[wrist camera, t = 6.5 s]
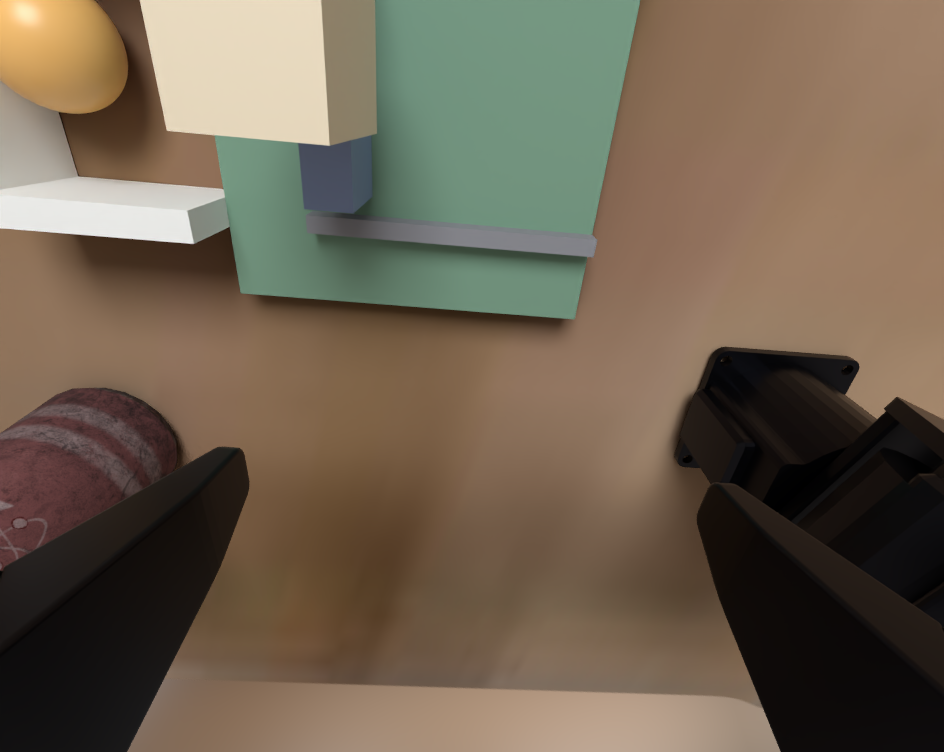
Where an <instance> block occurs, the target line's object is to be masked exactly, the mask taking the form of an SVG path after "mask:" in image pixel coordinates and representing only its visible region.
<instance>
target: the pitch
mask: <svg viewBox="0 0 944 752" xmlns="http://www.w3.org/2000/svg"><path fill="white" fill-rule="evenodd" d="M639 4H640V0H375V30H376V103H377V134H374V135H371V143H372V196H373V197H372V198H370V199H369V200H368V201H367V202H366V203H365V204H364V205H362V206H361V207H360V208H359V209H358V210H357V211H356V212H355V213H342V212H330V211H319V210H307V209H304V204H303V192H302V181H301V169H300V158H299V147H298V143H295V142H284V141H273V140H262V139H251V138H241V137H230V136H219V135H215V140H216V146H217V153H218V159H219V165H220V171H221V177H222V183H223V189H224V195H225V201H226V207H227V213H228V219H229V225H230V231H231V237H232V244H233V250H234V256H235V262H236V268H237V274H238V280H239V286H240V292H241V293H244V294H257V295H270V296H283V297H295V298H308V299H321V300H334V301H347V302H359V303H372V304H385V305H398V306H411V307H423V308H436V309H449V310H462V311H475V312H487V313H500V314H513V315H526V316H539V317H551V318H564V319H575V315H576V310H577V305H578V300H579V295H580V291H581V286H582V281H583V276H584V271H585V266H586V261H587V257H594V253H595V248H596V243H597V239H596V238H595V237H594V236H593V235H592V232H593V227H594V223H595V218H596V213H597V208H598V203H599V198H600V193H601V189H602V184H603V179H604V174H605V169H606V164H607V159H608V155H609V150H610V145H611V140H612V135H613V130H614V125H615V121H616V116H617V111H618V106H619V101H620V96H621V91H622V87H623V82H624V77H625V72H626V67H627V62H628V57H629V53H630V48H631V43H632V38H633V33H634V28H635V23H636V19H637V14H638V9H639Z"/></svg>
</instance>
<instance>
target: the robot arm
mask: <svg viewBox="0 0 944 752" xmlns="http://www.w3.org/2000/svg"><path fill="white" fill-rule="evenodd" d="M725 356H728V358H727V359H726V360H725V361H724V362H721V360H722V358H724V357H725ZM845 366H847V367H846V368H845V369H843V368H844V367H845ZM842 369H843V370H842ZM858 370H859V363H858V362H857V361H855V360H854V359H852V358H851V357H848V356H839V355H826V354H812V353H799V352H786V351H773V350H760V349H747V348H734V347H721V348H719V349H717V350H716V351H715V352H713V354H712V356H711V358H710V361H709V364H708V366H707V369H706V372H705V374H704V377H703V380H702V382H701V385H700V388H699V390H698V391H697V392H696V393H695V395H694V397H693V400H692V403H691V406H690V408H689V411H688V414H687V416H686V419H685V422H684V424H683V427H682V430H681V432H680V437H681V438H680V441H679V444H678V446H677V449H676V452H675V456H674V457H675V459H676V461H677V462H678V464H679V465H680V466H682V467H692V468H701V469H702V471H703V473H704V474H705V476H706V477H707V479H708V480H709V482H710V484H711V485H710V486H709V488H708V490H707V492H706V494H705V497H704V499H703V501H702V503H701V506H700V508H699V510H698V513H697V525H698V529H699V532H700V536H701V539H702V543H703V546H704V550H705V553H706V556H707V560H708V563H709V567H710V570H711V574H712V577H713V581H714V584H715V587H716V590H717V594H718V597H719V600H720V602H721V605H722V608H723V610H724V613H725V615H726V618H727V620H728V623H729V625H730V628H731V630H732V633H733V635H734V638H735V640H736V642H737V645H738V647H739V650H740V652H741V655H742V657H743V660H744V662H745V665H746V667H747V670H748V672H749V675H750V677H751V680H752V682H753V685H754V687H755V689H756V692H757V694H758V697H759V699H760V702H761V704H762V707H763V709H764V712H765V714H766V717H767V719H768V721H769V724H770V727H771V729H772V731H773V734H774V736H775V739H776V741H777V744H778V746H779V749H780V751H781V752H944V420H943V419H941V418H939V417H937V416H935V415H933V414H931V413H929V412H927V411H925V410H923V409H921V408H919V407H917V406H915V405H913V404H911V403H909V402H907V401H905V400H903V399H901V398H899V397H896V398H895V399H894V400H893V401H892V402H891V403H889V404H888V405H887V406H886V407H885V408H884V409H885V410H886V412H885V413H884V414H883V415H881V416H880V417H879V418H878V419H876V418H875V417H873V416H872V415H871V414H869V413H868V412H867V411H866V410H864V409H863V408H862V407H860V406H859V405H858V404H856V403H855V402H854V401H852V400H851V399H850V398H848V397H847V396H846V395H845V394H846V392H847V390H848V389H849V387H850V385H851V383H852V381H853V380H854V378H855V376H856V374H857V372H858ZM687 455H689V456H688V457H686V458H684V457H685V456H687ZM248 491H249V477H248V471H247V466H246V460H245V455H244V452H243V451H242V450H241V449H240V448H234V447H217V448H215V449H213V450H211V451H209V452H208V453H206V454H204V455H202V456H201V457H199V458H197V459H195V460H193V461H192V462H190V463H188V464H186V465H185V466H183V467H181V468H179V469H177V470H176V471H174V472H172V473H170V474H168V475H167V476H165V477H163V478H161V479H160V480H158V481H156V482H154V483H152V484H151V485H149V486H147V487H145V488H144V489H142V490H140V491H138V492H136V493H135V494H133V495H131V496H129V497H127V498H126V499H124V500H122V501H120V502H119V503H117V504H115V505H113V506H111V507H110V508H108V509H106V510H104V511H103V512H101V513H99V514H97V515H95V516H94V517H92V518H90V519H88V520H86V521H85V522H83V523H81V524H79V525H78V526H76V527H74V528H72V529H70V530H69V531H67V532H65V533H63V534H61V535H60V536H58V537H56V538H54V539H53V540H51V541H49V542H47V543H45V544H44V545H42V546H40V547H38V548H36V549H35V550H33V551H31V552H29V553H28V554H26V555H24V556H22V557H20V558H19V559H17V560H15V561H13V562H11V563H10V564H8V565H6V566H5V567H4V568H3V571H2V570H0V752H127V751H128V749H129V747H130V745H131V743H132V741H133V739H134V737H135V735H136V733H137V731H138V729H139V727H140V725H141V723H142V721H143V719H144V717H145V715H146V713H147V711H148V709H149V708H150V706H151V704H152V701H153V700H154V698H155V696H156V694H157V692H158V690H159V688H160V686H161V684H162V682H163V680H164V678H165V676H166V674H167V672H168V670H169V668H170V666H171V664H172V662H173V660H174V658H175V656H176V654H177V652H178V650H179V648H180V646H181V644H182V642H183V640H184V638H185V636H186V634H187V632H188V630H189V628H190V627H191V625H192V623H193V621H194V619H195V617H196V615H197V613H198V611H199V609H200V607H201V605H202V603H203V601H204V599H205V597H206V595H207V593H208V591H209V589H210V587H211V585H212V583H213V581H214V579H215V577H216V575H217V573H218V571H219V568H220V566H221V564H222V561H223V559H224V556H225V553H226V551H227V548H228V545H229V543H230V540H231V537H232V535H233V532H234V529H235V527H236V524H237V521H238V519H239V516H240V513H241V511H242V508H243V505H244V503H245V500H246V497H247V495H248Z"/></svg>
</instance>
